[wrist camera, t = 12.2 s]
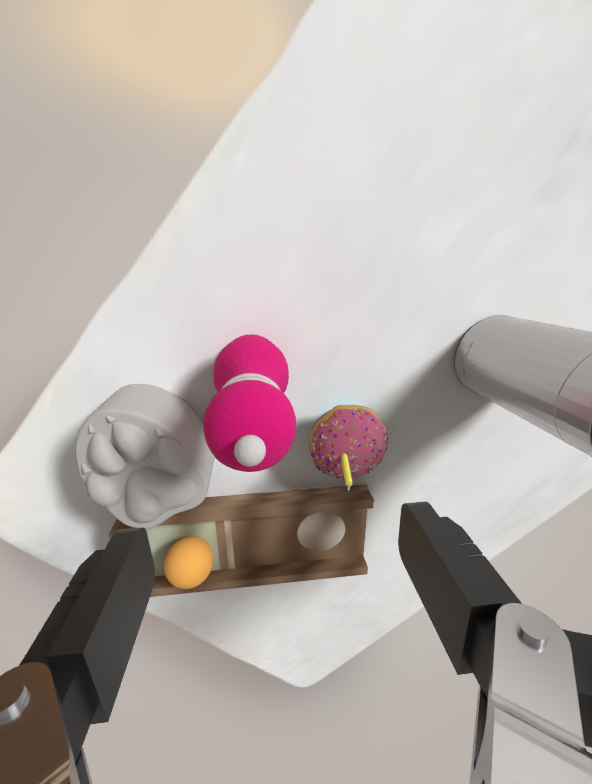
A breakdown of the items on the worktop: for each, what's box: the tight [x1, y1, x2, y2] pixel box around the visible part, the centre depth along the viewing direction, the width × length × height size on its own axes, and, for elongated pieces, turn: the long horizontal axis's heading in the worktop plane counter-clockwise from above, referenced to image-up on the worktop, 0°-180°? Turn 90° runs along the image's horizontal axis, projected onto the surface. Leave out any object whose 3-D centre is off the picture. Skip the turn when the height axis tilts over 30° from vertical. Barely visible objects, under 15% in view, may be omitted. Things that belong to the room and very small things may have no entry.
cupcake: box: [309, 405, 388, 491], centre depth 35 cm, size 9×8×12 cm
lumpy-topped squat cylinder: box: [75, 384, 215, 529], centre depth 35 cm, size 10×13×9 cm
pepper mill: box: [203, 335, 296, 472], centre depth 28 cm, size 7×7×20 cm
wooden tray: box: [109, 485, 374, 597], centre depth 42 cm, size 30×12×5 cm, turn 91°
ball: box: [164, 536, 213, 589], centre depth 40 cm, size 6×6×6 cm
